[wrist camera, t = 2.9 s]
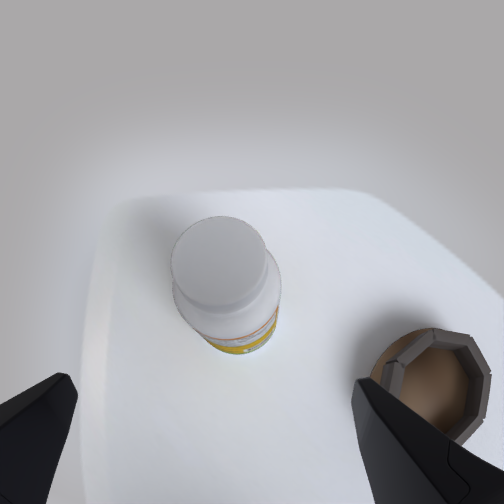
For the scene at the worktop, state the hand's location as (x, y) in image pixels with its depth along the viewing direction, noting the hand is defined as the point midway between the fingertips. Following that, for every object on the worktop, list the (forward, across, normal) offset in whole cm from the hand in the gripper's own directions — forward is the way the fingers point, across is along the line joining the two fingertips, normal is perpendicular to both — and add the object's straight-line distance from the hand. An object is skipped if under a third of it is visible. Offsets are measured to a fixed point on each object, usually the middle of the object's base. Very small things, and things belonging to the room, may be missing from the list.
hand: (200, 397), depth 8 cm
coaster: (+7, -14, +10) cm, 18 cm away
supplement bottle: (+12, 0, +5) cm, 13 cm away
